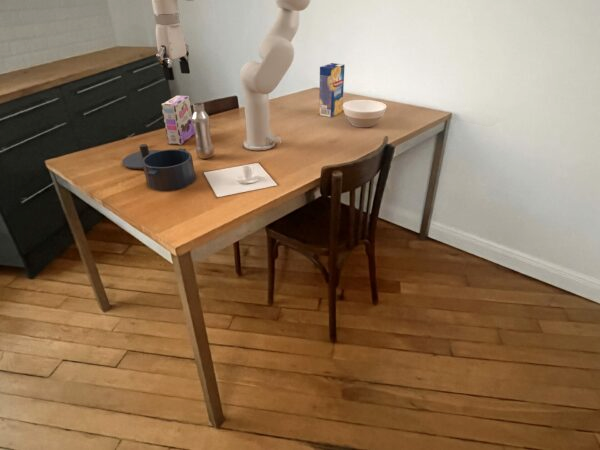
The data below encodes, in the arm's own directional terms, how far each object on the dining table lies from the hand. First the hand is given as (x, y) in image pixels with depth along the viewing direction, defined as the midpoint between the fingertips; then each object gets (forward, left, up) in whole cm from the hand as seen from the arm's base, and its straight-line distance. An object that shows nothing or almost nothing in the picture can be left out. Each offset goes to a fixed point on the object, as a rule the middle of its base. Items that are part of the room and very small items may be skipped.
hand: (178, 76), depth 137 cm
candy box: (+13, -18, -30) cm, 37 cm away
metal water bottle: (-5, -2, -30) cm, 30 cm away
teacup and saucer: (-24, +13, -30) cm, 40 cm away
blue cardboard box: (-42, -66, -30) cm, 84 cm away
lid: (+15, +6, -29) cm, 33 cm away
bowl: (-59, -53, -30) cm, 85 cm away
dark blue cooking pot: (-2, +19, -30) cm, 35 cm away
